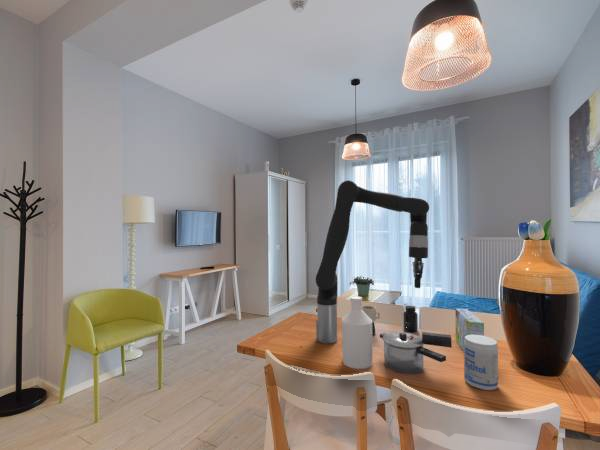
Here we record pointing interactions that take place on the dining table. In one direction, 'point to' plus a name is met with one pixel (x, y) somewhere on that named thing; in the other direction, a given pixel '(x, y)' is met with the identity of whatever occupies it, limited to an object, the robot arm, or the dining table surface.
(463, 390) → the dining table surface
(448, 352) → the dining table surface
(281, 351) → the dining table surface
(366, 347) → the bottle
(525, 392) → the dining table surface
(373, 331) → the character mug
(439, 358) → the pot
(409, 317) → the supplement bottle
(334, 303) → the robot arm
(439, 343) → the lid
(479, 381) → the supplement tub
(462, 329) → the snack box
